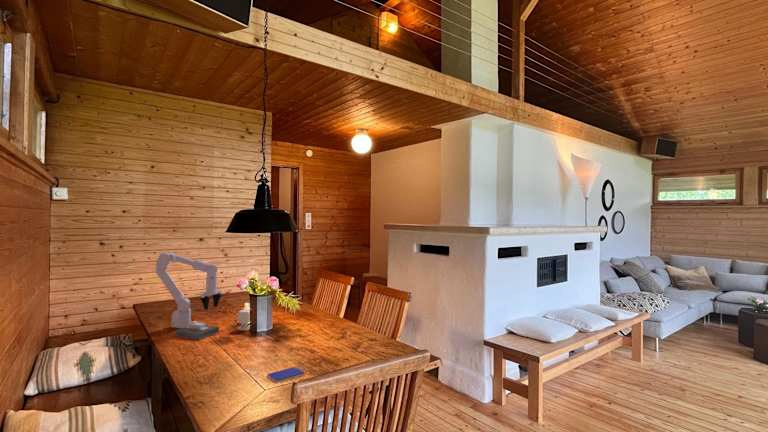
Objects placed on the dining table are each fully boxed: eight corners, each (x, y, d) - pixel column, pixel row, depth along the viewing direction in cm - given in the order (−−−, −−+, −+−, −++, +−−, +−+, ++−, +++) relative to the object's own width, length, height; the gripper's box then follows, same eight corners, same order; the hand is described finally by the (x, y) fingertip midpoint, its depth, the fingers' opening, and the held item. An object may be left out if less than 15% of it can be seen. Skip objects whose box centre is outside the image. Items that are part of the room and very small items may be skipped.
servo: (208, 333, 211) (208, 322, 211) (202, 335, 207) (203, 323, 207) (191, 330, 214) (192, 319, 214) (186, 333, 210) (186, 321, 210)
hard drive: (295, 366, 166) (267, 373, 158) (304, 372, 160) (276, 380, 152) (295, 369, 166) (267, 377, 158) (304, 376, 160) (275, 384, 152)
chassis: (174, 336, 206) (175, 330, 206) (195, 329, 219) (195, 323, 219) (199, 339, 201) (199, 334, 201) (218, 332, 214) (218, 326, 214)
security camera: (252, 327, 226) (253, 309, 226) (247, 330, 219) (247, 312, 219) (242, 326, 227) (242, 309, 227) (236, 329, 220) (236, 312, 220)
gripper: (207, 287, 222) (207, 311, 222) (225, 283, 236) (225, 305, 236) (197, 286, 224) (197, 310, 224) (216, 282, 238) (215, 304, 238)
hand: (210, 307), depth 230 cm, fingers open, 7 cm apart
